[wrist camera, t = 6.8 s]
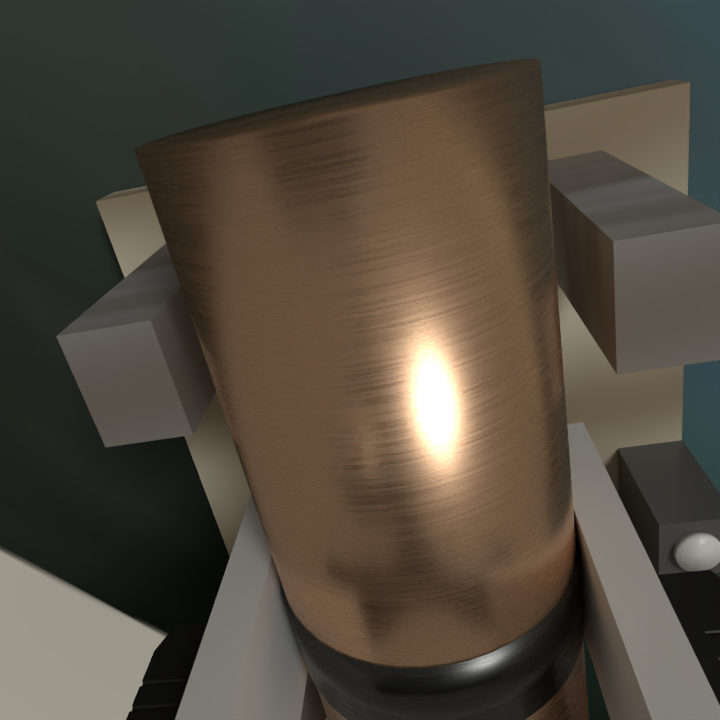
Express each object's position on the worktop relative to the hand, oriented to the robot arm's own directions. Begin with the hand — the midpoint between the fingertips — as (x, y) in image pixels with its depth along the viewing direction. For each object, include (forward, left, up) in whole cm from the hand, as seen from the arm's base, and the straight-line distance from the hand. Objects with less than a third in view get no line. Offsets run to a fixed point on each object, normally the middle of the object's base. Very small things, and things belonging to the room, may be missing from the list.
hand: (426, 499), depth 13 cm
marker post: (+3, +6, -4) cm, 7 cm away
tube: (0, -1, 0) cm, 1 cm away
